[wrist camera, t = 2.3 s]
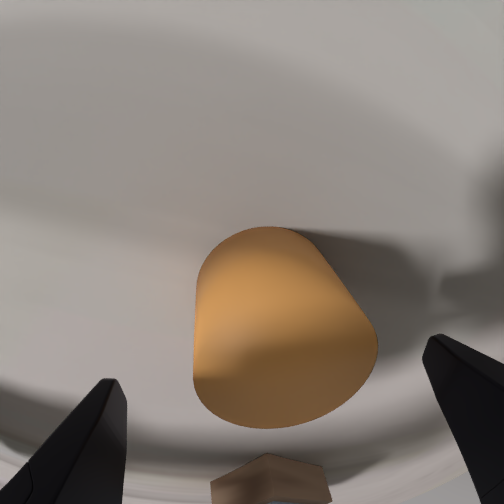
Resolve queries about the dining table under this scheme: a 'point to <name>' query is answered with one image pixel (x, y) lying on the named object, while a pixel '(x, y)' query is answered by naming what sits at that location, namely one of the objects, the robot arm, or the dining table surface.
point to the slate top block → (276, 503)
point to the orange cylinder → (276, 332)
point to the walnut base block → (272, 483)
